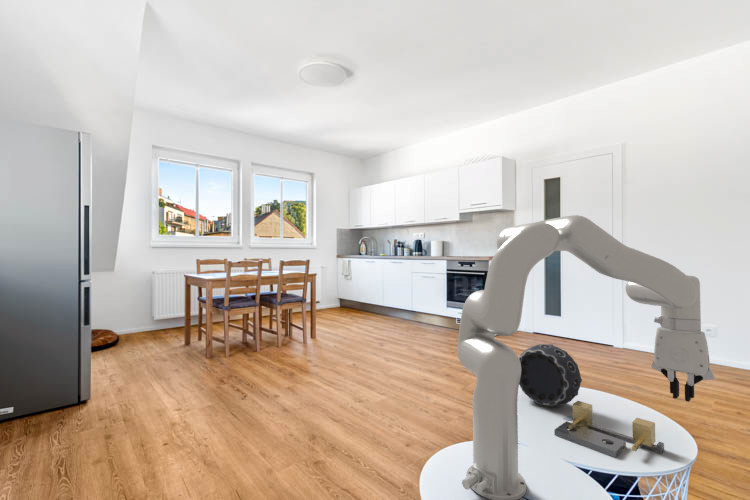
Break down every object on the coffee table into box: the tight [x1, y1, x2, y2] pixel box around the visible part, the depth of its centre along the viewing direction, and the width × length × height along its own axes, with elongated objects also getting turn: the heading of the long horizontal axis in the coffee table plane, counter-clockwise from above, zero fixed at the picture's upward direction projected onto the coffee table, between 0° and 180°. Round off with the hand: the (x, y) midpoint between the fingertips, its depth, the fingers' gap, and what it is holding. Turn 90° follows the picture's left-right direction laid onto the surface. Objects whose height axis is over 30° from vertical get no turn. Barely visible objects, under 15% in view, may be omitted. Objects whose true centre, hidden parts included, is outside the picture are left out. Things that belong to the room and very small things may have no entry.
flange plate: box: [553, 421, 627, 459], centre depth 98 cm, size 8×15×2 cm, turn 40°
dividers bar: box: [569, 400, 665, 455], centre depth 98 cm, size 11×21×6 cm, turn 40°
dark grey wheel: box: [518, 343, 583, 408], centre depth 122 cm, size 11×20×20 cm, turn 37°
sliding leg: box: [631, 417, 656, 453], centre depth 93 cm, size 11×4×5 cm, turn 130°
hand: (682, 398), depth 89 cm, fingers closed
